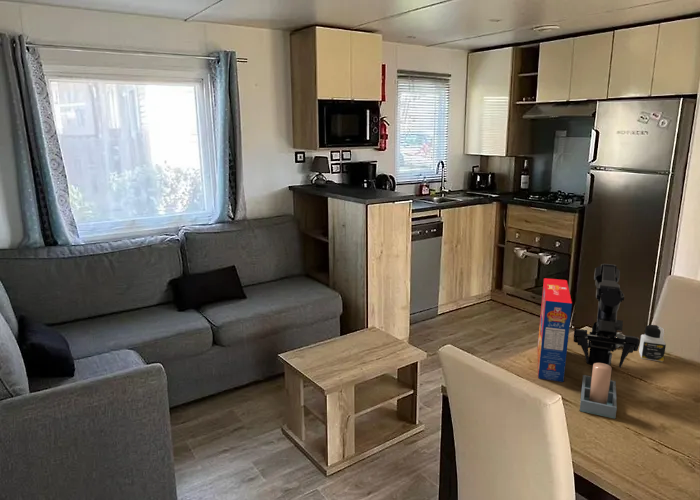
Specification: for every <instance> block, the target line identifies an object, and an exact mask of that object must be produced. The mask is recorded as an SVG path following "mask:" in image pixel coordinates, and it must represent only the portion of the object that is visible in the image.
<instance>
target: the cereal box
mask: <svg viewBox="0 0 700 500" xmlns="http://www.w3.org/2000/svg"><path fill="white" fill-rule="evenodd" d="M542 283H543V286H542V293H541V294H542V295H541V306H540V307H541V308H540V316H539V317H540V318H539V327H538V328H539V329H538V337H537V338H538V339H537V377H538V378H537V379H540V380H547V381H555V382H560V383H564V380H565V370H566V361H567V354H568V353H567V352H568V346H569V345H568V344H569V343H568V342H569V334H570V333H569V332H570V325H571V316H572V308H573V301H572V298H571V294H570V293H571V292H570V288H569V284H568V280H566V279H557V278H546V277H545V278H543V282H542Z"/></svg>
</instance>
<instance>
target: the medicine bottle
mask: <svg viewBox="0 0 700 500" xmlns="http://www.w3.org/2000/svg"><path fill="white" fill-rule="evenodd" d="M664 337H665V329H664V328H663V327H662V326H660V325H657V324H648V325H646V326H645V330H644V334H641V335H640V339H639V347H638V352H639V356H640V358H641V359H642V360H648V361H656V362H662V363H663V362H664V359H665V355H666V354H665V353H666V346H667V344H666V342H665V340H664Z"/></svg>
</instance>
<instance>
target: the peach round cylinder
mask: <svg viewBox="0 0 700 500" xmlns="http://www.w3.org/2000/svg"><path fill="white" fill-rule="evenodd" d="M611 375H612V366H611V365H607V364H604V363H594V364H593V365H592V372H591V376H592V379H591V388H590V397H589V401H592V402H596V403H601V404H606V405H607V402H608V394H609V386H610V380H611V377H612V376H611Z"/></svg>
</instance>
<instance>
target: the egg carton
mask: <svg viewBox="0 0 700 500" xmlns="http://www.w3.org/2000/svg"><path fill="white" fill-rule="evenodd" d="M625 335H626V334H624V333H623V332H622V331H620V332H619V331H618V332H617V334H616V337H617V338H621V339H625ZM620 347H622V348H623V345H620V344H617V345H616V349H617V348H620Z"/></svg>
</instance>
